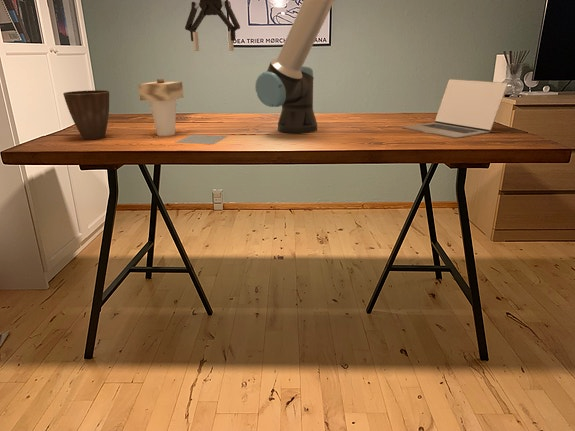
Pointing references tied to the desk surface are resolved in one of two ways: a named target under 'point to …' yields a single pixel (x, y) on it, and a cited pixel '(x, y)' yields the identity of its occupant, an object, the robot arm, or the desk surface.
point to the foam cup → (164, 116)
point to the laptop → (465, 109)
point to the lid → (160, 91)
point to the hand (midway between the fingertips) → (213, 51)
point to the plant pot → (89, 112)
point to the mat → (202, 139)
